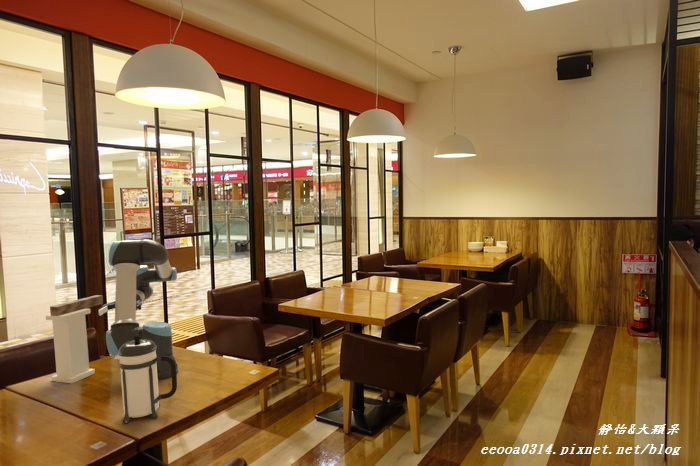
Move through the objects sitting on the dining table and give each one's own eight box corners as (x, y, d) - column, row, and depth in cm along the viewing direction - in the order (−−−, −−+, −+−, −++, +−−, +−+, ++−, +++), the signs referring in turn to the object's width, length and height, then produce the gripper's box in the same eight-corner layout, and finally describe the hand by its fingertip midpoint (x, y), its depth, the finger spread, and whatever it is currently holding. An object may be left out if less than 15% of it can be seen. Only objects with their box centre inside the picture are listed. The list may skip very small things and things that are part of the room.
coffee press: (137, 429, 158) (131, 343, 155) (110, 418, 166) (104, 337, 164) (179, 409, 172) (175, 330, 170) (153, 400, 181) (148, 325, 179)
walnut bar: (57, 316, 199) (56, 307, 199) (50, 315, 200) (49, 306, 200) (103, 303, 222) (102, 295, 221) (96, 303, 223) (96, 295, 223)
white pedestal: (69, 384, 200) (64, 316, 198) (49, 381, 204) (43, 315, 202) (96, 372, 213) (91, 308, 211) (77, 370, 217) (72, 307, 215)
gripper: (110, 292, 247) (87, 305, 226) (156, 291, 246) (137, 304, 225) (112, 306, 248) (89, 320, 227) (157, 305, 247) (138, 319, 226)
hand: (113, 312), depth 226 cm, fingers open, 13 cm apart
